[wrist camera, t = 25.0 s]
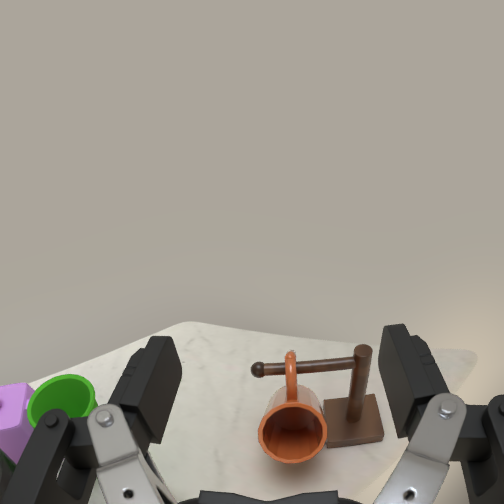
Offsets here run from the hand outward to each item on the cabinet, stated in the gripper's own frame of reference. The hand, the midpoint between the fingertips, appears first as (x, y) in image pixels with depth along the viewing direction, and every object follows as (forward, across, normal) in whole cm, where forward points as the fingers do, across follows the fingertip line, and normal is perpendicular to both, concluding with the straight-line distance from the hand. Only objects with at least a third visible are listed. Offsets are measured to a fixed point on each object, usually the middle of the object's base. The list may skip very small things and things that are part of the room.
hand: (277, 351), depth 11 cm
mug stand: (+13, -4, +25) cm, 29 cm away
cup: (+6, +23, +26) cm, 35 cm away
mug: (+16, 0, +21) cm, 26 cm away
